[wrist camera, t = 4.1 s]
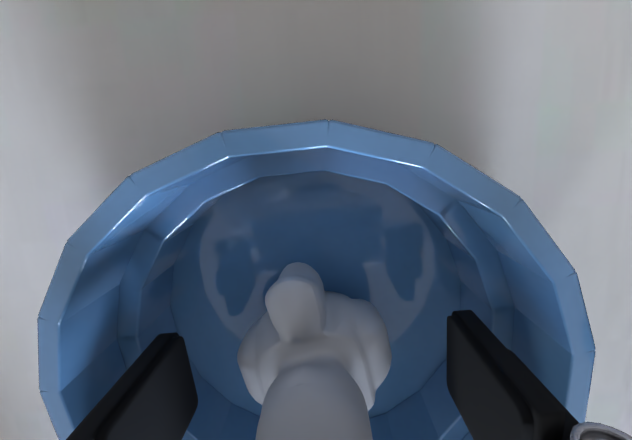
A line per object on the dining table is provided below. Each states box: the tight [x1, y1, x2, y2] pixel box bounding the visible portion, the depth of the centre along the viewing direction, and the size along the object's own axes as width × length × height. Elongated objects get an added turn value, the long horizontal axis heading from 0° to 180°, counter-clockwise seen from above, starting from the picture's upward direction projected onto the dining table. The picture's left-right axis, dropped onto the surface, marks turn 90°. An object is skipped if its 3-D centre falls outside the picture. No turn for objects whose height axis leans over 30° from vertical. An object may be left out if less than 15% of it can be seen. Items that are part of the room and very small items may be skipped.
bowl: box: [37, 119, 595, 440], centre depth 11 cm, size 15×15×5 cm
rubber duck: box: [237, 262, 392, 440], centre depth 9 cm, size 5×7×8 cm
